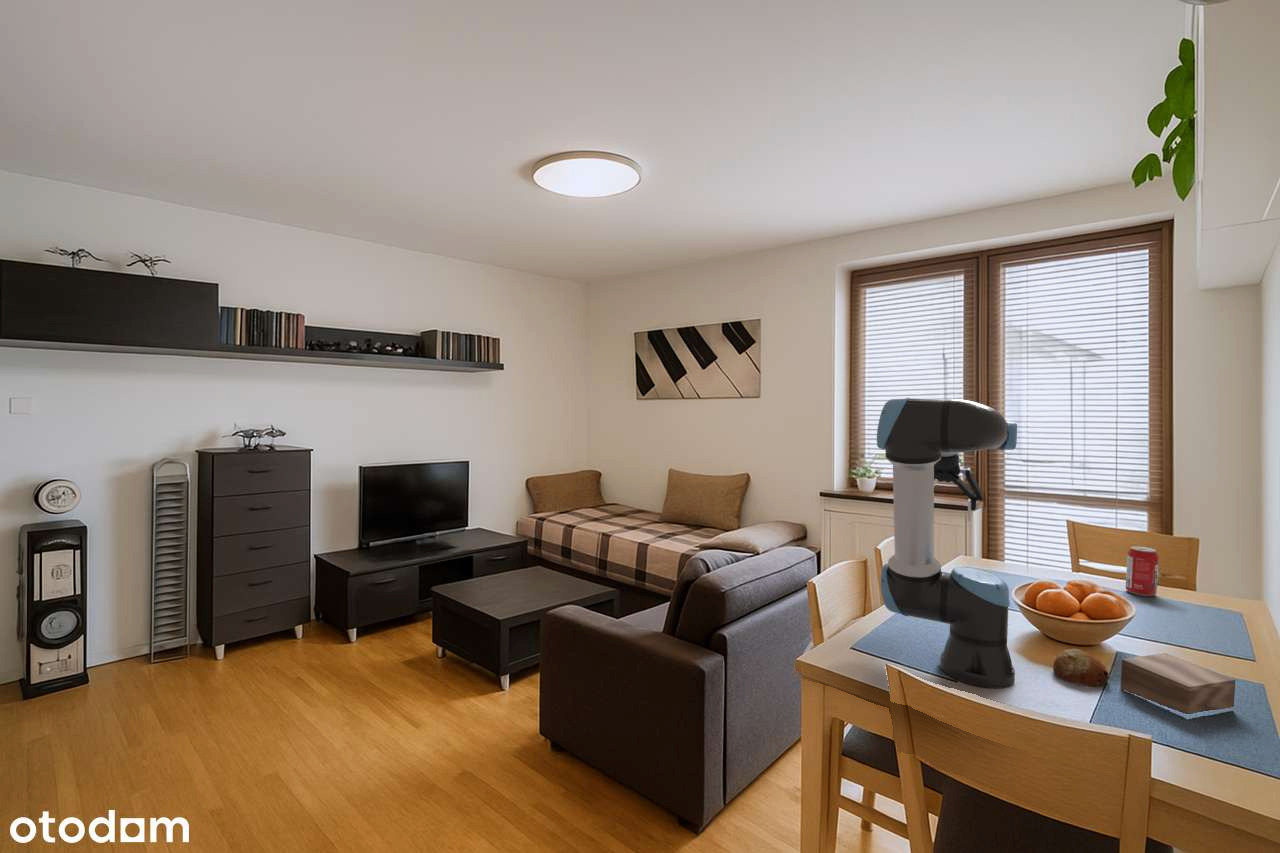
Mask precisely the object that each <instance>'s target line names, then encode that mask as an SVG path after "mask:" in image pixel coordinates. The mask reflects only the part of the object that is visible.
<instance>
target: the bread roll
mask: <svg viewBox="0 0 1280 853" xmlns="http://www.w3.org/2000/svg"><path fill="white" fill-rule="evenodd" d="M1052 670H1053V672H1054V674H1055V675H1056V676H1057V677H1058V678H1060V679H1062V680H1064V681H1066V682H1069V683H1071V684H1076V685H1080V686H1081V685H1082V686H1085V687H1086V686H1087V687H1102V686H1104V685H1105V684H1106V683H1107V682H1108V679H1110V677H1109V672H1108V669H1107V667H1106V664H1104V663H1103V662H1102V661H1101V660H1100V659H1098V658H1096V657H1095V656H1094V655H1092V654H1090V653H1088V652H1086V651H1083V650H1081V649H1078V648H1070V649H1066V650H1062V652H1060V653H1059V654H1058V655H1056V658H1055V659H1054V661H1053V665H1052Z"/></svg>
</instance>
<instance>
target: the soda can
mask: <svg viewBox="0 0 1280 853" xmlns="http://www.w3.org/2000/svg"><path fill="white" fill-rule="evenodd" d="M1159 557H1160V556H1159V554H1158V553H1157V550H1156V549H1155V548H1151V547H1146V546H1134V545H1133V546H1130V549H1129V550H1127V557H1126V573H1125V574H1126V575H1125V590H1126V591H1127V592H1129V594H1133V595H1136V596H1138V597H1139V596H1140V597H1153V596H1156V595H1157V592H1158V578H1159V576H1158V574H1159V560H1160V558H1159Z"/></svg>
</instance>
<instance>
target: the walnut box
mask: <svg viewBox="0 0 1280 853" xmlns="http://www.w3.org/2000/svg"><path fill="white" fill-rule="evenodd" d="M1120 669H1121V670H1120V671H1121V673H1120V688H1121V689H1120V690H1122V689H1123V690H1122V691H1124V690H1126V691H1128V692H1130V693H1133V694H1136V695H1138V696H1141V697H1143V698H1145V699H1148V700H1151V701H1153V702H1156V703H1158V704H1160V705H1163V706H1166V707H1168V708H1171V709H1174V710H1177V711H1179V712H1182V713H1185V714H1193V713H1197V712H1203V711H1209V710H1217V709H1218V710H1219V709H1225V708H1231V707H1234V708H1235V697H1236V696H1235V695H1236V694H1235V693H1236V681H1237V680H1236V679H1235V678H1232V677H1231V676H1227V675H1224V674H1222V673H1220V672H1216V671H1214V670H1211V669H1209V668H1206V667H1204V666H1200V665H1198V664H1196V663H1193V662H1190V661H1187V660H1185V659H1183V658H1179V657H1177V656H1175V655H1172V654H1169V653H1166V652H1164V653H1157V654H1150V655H1142V656H1136V657H1135V656H1134V657H1129V658H1122V659H1121V668H1120ZM1126 691H1125V692H1126ZM1128 692H1127V693H1128ZM1130 693H1129V694H1130Z"/></svg>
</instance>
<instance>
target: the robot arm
mask: <svg viewBox="0 0 1280 853" xmlns="http://www.w3.org/2000/svg"><path fill="white" fill-rule="evenodd" d="M1017 442H1018V424H1017V423H1016V422H1015V421H1007V420H1006V419H1005V417H1004V416H1003V415H1002V413H1001V412H1000V411H998V410H996V409H995V408H993V407H991V406H988V405H986V404H982V403H979V402H977V401H972V400H967V399H966V400H965V399H959V398H951V399H941V398H913V397H912V398H910V397H906V398H891V399H890V400H887V402H885V403H884V405H883V408H882V409H881V413H880V416H879V419H878V424H877V432H876V446H877V448H878V449H881V450H884V452H885V459H886V460H887V461H888V462H889V463H891V464H892V484H893V486H892V488H893V489H892V491H893V494H892V495H893V531H894V533H893V536H894V543H893V544H894V554H893V555H892V556H890V557H889V559H888V560H887V561H888V562H887V563H885V564H884V565H883V566H882V568H881V572H880V592H881V593H880V594H881V598H882V601H883V605H884V606H885V608H886V609H887V610H888V611H890V612H891V613H894V614H899V615H902V616H905V617H914V618H917V619H923V620H929V621H932V622H938V623H943V624H949V635H948V638H947V640H946V643H945V646H944V649H943V651H942V652H941V654H940V657H939V659H940V660H939V667H940V670H942V672H943V673H944V674H946V675H947V676H949V677H951V679H955V680H957V681H959V682H962V683H965V684H968V685H971V686H976V687H980V688H981V687H982V688H986V689H987V688H988V689H1001V688H1007V687H1011V686H1012V685H1014V683H1015V680H1016V679H1015V677H1016V676H1015V675H1016V670H1015V667H1014V665H1013V662H1012V658H1011V655H1010V651H1009V648H1008V634H1009V631H1008V629H1009V628H1008V626H1009V625H1008V624H1009V606H1010V605H1011V601H1010V589H1009V585H1008V583H1006V581H1005V580H1003V579H1002V578H1001V577H999V576H997V575H994V574H992V573H989V572H987V571H984V570H980V569H977V568H973V567H972V568H971V567H962V566H961V567H960V566H957V567H954V568H952V570H951V572H946V571H945V572H944V571H942V564H941V561H939V560H938V559H937V558H936V557H935V540H934V539H935V483H934V482H935V481H936V480H937V481H938V482H946V483H951V482H952V483H953V484H954V485H955V486H957V487H958V488H959V489H960V491H962V492H963V493H964V494H965V496H966V497H967V498H968V501H967V521H968V522H971V521H972V519H973V511H976V509H977V501H982V500H983V498H984V493H983V491H982V489H981V488H980V486H979V484H978V482H977V480H976V479H975V477H974V476H973V473H972V467H970V466H968V467H966V468H961V467H960V454H961V453H971V452H978V451H988V450H998V451H1007V450H1008V451H1009V450H1010V451H1013V450H1015V449H1016V448H1017ZM960 474H962V475H963V476H964V477H965V478H966V480H967V483H968V484H969V486H970V487H969V486H968V485H967V484H966V482H964V481H963V480H962V478H961V476H960Z"/></svg>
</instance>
